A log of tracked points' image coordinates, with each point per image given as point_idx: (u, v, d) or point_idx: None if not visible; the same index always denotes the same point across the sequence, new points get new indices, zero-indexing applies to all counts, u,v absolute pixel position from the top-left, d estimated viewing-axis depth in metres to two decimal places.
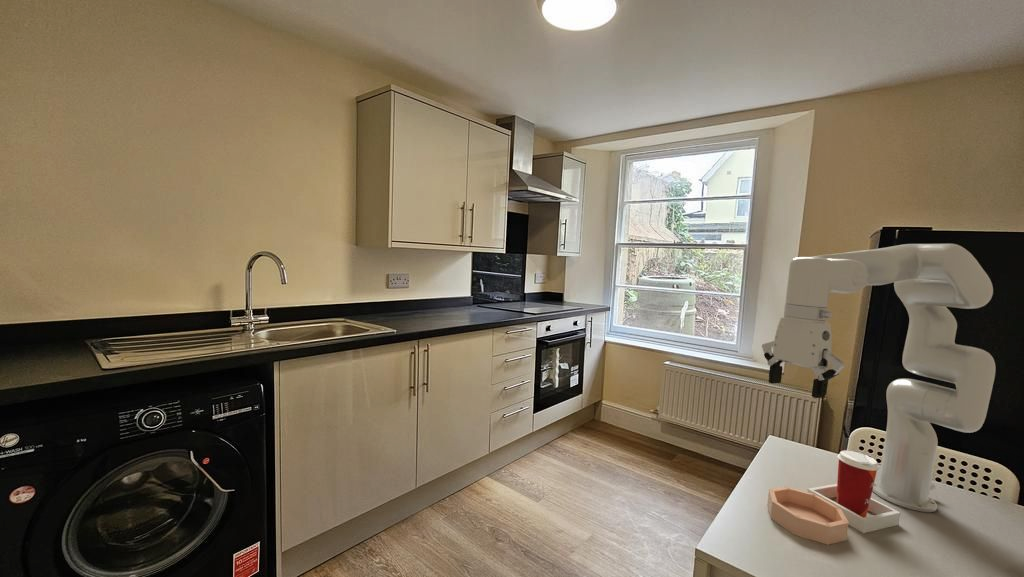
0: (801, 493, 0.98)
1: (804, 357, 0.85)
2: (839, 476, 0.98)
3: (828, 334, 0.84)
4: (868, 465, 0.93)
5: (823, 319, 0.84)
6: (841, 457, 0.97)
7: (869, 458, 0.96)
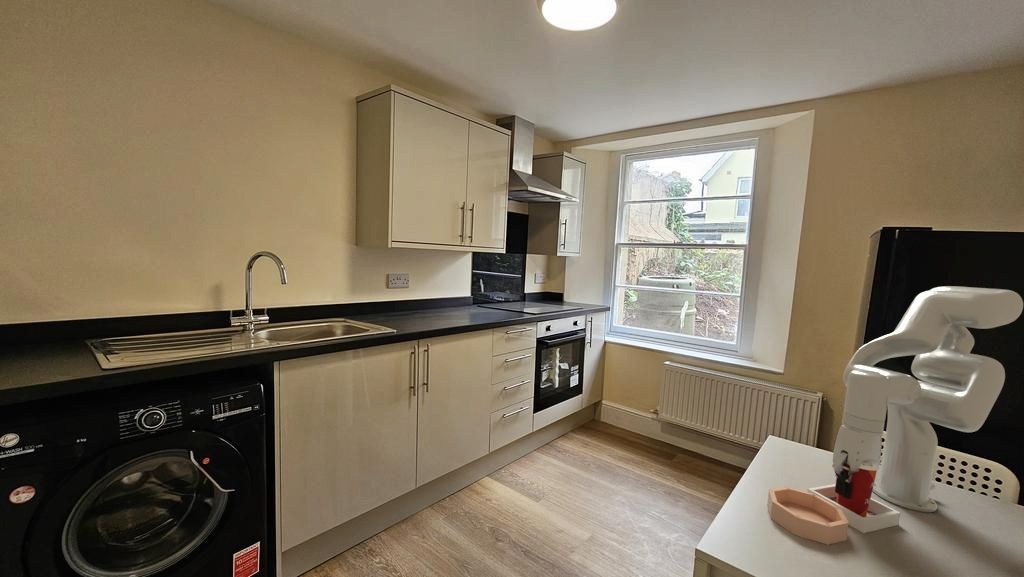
0: (801, 493, 0.98)
1: None
2: None
3: None
4: (868, 465, 0.93)
5: None
6: None
7: None
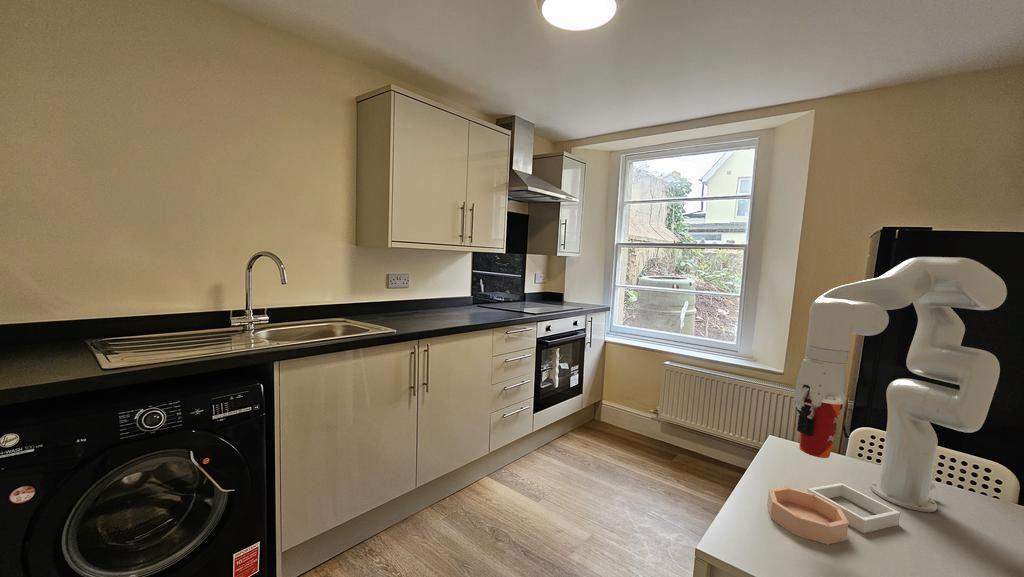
0: (801, 493, 0.98)
1: None
2: None
3: None
4: (831, 399, 0.87)
5: None
6: None
7: None
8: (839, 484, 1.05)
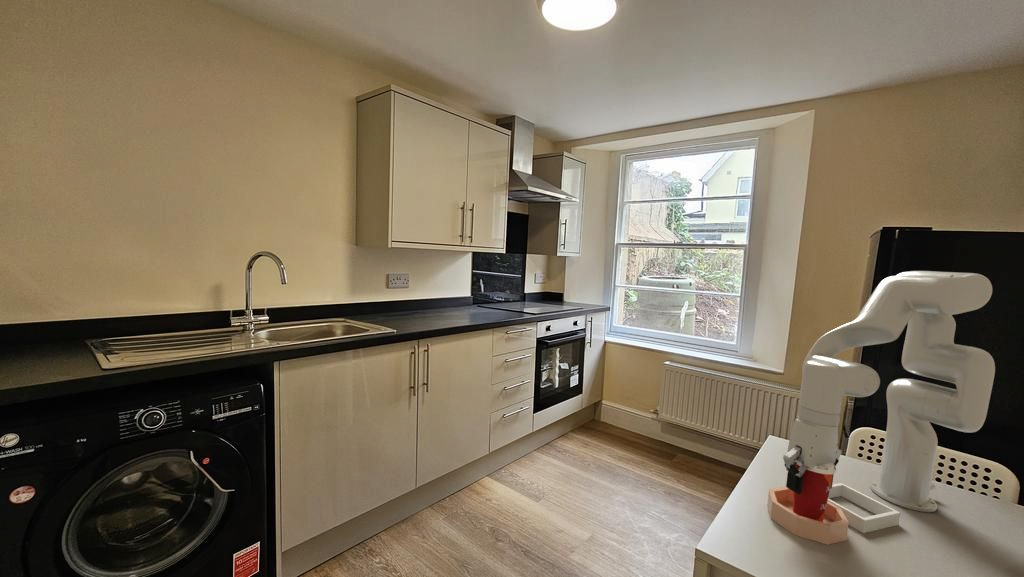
0: None
1: (831, 458, 0.90)
2: None
3: None
4: (823, 468, 0.88)
5: None
6: None
7: None
8: (839, 484, 1.05)
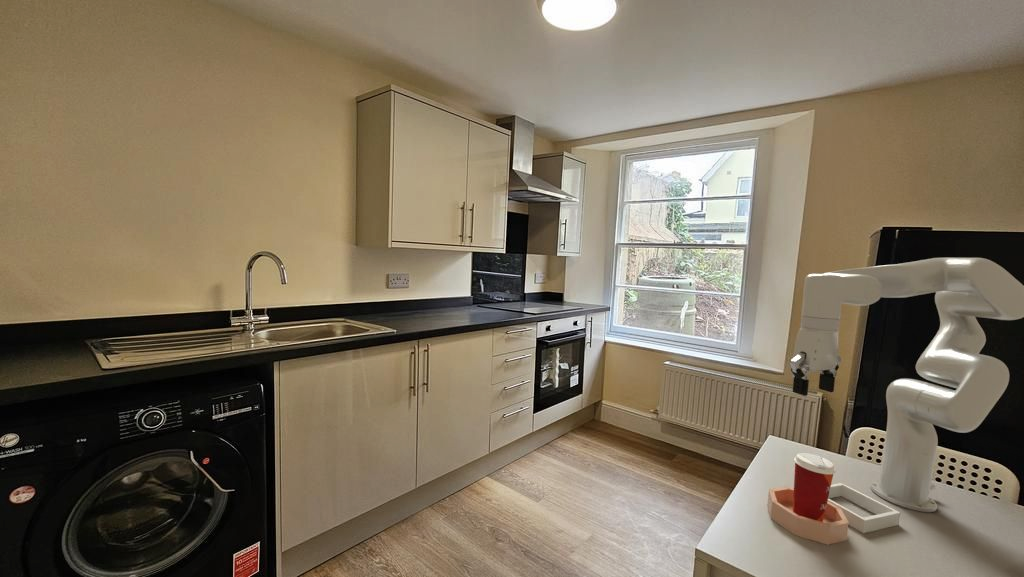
0: None
1: (832, 362, 0.98)
2: (795, 480, 0.93)
3: None
4: (823, 468, 0.88)
5: None
6: (797, 460, 0.92)
7: (826, 461, 0.91)
8: (839, 484, 1.05)
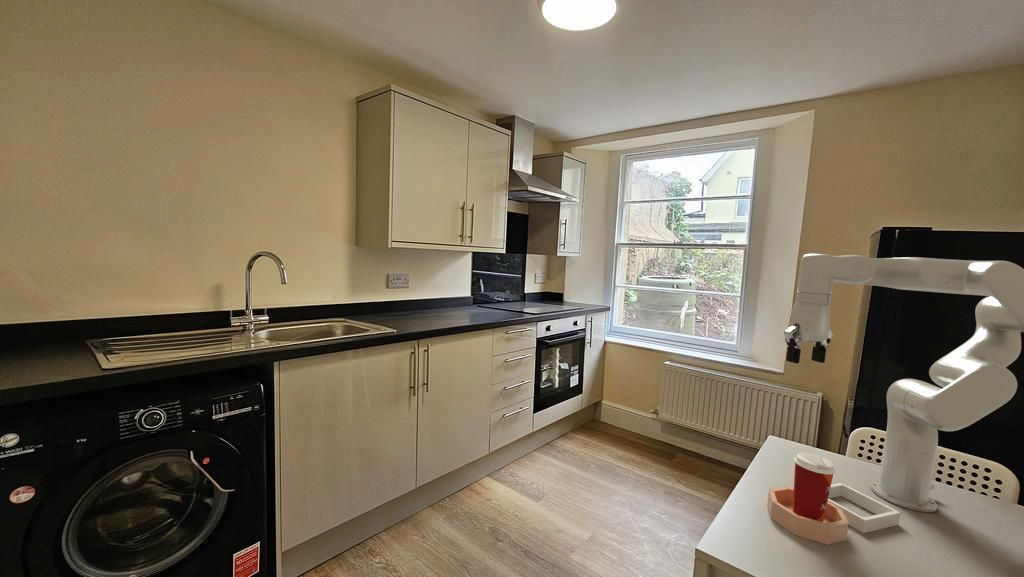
0: None
1: (824, 334, 1.08)
2: (795, 480, 0.93)
3: None
4: (823, 468, 0.88)
5: None
6: (797, 460, 0.92)
7: (826, 461, 0.91)
8: (839, 484, 1.05)
